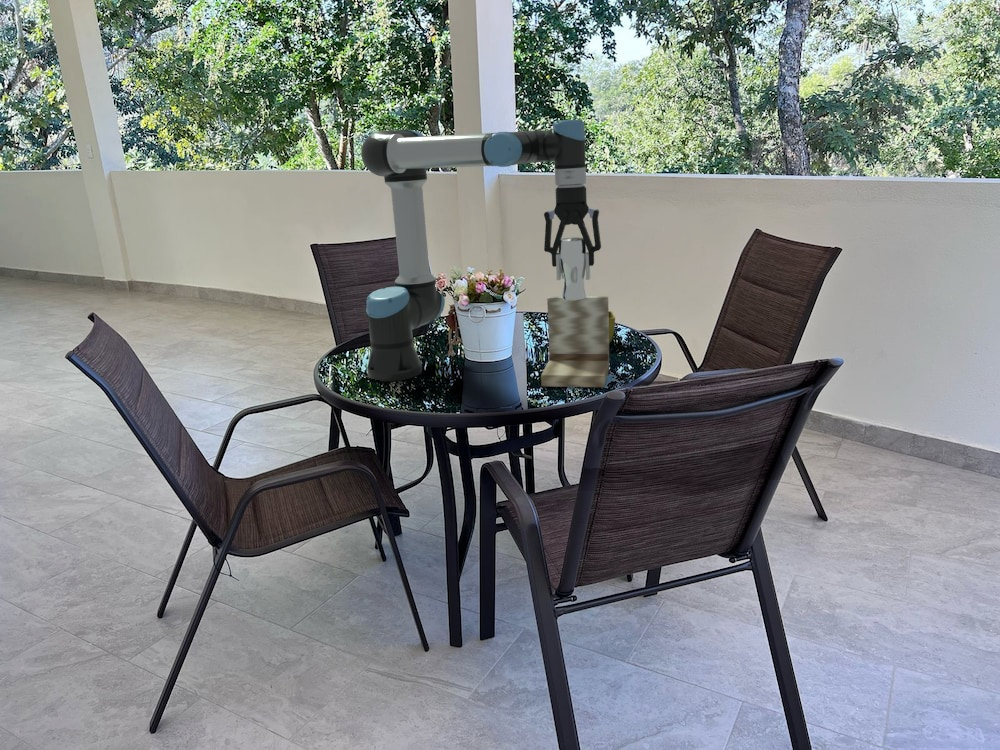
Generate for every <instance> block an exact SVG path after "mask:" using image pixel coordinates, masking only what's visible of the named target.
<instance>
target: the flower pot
mask: <svg viewBox="0 0 1000 750" xmlns="http://www.w3.org/2000/svg"><path fill="white" fill-rule="evenodd" d="M615 325H616V316H615V314H614V313H613V311H612V310H609V344H610V343H611V342H612V339H613V336H614V334H615V333H614V332H615Z"/></svg>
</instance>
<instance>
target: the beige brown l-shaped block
mask: <svg viewBox="0 0 1000 750" xmlns="http://www.w3.org/2000/svg"><path fill="white" fill-rule="evenodd" d="M546 301H547V304H546V305H547V324H548V325H547V326H548V327H547V328H548V351H549V353H548V362H547V364H546V365H545V367H544V369H543V371H542V373H541V375H540V381H541V383H540V384H541V387H557V388H558V387H561V388H562V387H563V388H564V387H567V388H568V387H569V388H572V387H573V388H605V387H604V386H606V383H607V379H608V376H609V371H610V343H609V311H610V310H609V295H608V296H607V295H605V296H604V295H603V296H602V295H601V296H597V295H596V296H595V295H594V296H591V295H590V296H586V298H585V299H582V300H574V301H569V300H563V299H562V296H547V298H546Z"/></svg>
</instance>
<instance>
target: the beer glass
mask: <svg viewBox="0 0 1000 750" xmlns="http://www.w3.org/2000/svg"><path fill="white" fill-rule="evenodd" d="M586 252H587V247H586V244H585V242H584V239H583V237H574V236H573V237H565V238H563V237H562V238H561V240H559V248H558V253H559V264H560V270H561V279H562V287H563V288H562V294H561V297H562V299H563V300H569V301H574V300H582V299H585V298H586V297H587V293H586V290H585V278H586V257H585V254H586Z"/></svg>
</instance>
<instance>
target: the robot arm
mask: <svg viewBox="0 0 1000 750" xmlns="http://www.w3.org/2000/svg"><path fill="white" fill-rule="evenodd" d="M585 132H586V131H585V123H584V121H583V120H581V119H578V118H577V119H564V120H555V121H554V122H553V123H552V129H547V130H544V129H543V130H541V129H540V130H520V131H498V132H489V133H486V132H485V133H467V134H448V135H447V134H446V135H444V134H443V135H430V136H429V135H428V136H425V135H423V133H421V132H419V131H418V130H417V131H416V130H414V129H405V128H403V129H393V130H379V131H375V132H373V133H371V134H369V135H368V136H367V137H366V138H365V140H364V141H363V143H362V145H361V151H360V153H361V159H362V162H363V165H364V166H365V168H366V169H367V170H368V171H369V172H371V174H373V175H376V176H379V177H384V183H385V184H386V186H388V187H389V188H390V192H391V202H392V211H393V221H394V231H395V232H394V233H395V234H394V235H395V241H396V243H395V244H396V252H397V264H398V274H399V275H398V276H397V277H396V278H395V280H394V285H395V286H389V287H385V288H379V289H377V290H374V291H372V292H370V294H369V295H368V296H367V298H366V308H365V310H366V311H365V312H366V314H367V315H366V316H367V323H368V333H369V341H370V352H369V353H370V354H369V358H368V362H367V367H366V369H367V377H368V379H370V378H372V379H375V380H374V381H376V380H380V381H379V382H397V381H404V380H409V379H412V378H415V377H417V376H419V375H421V374H422V372H423V368H422V366H423V365H422V362H421V360H420V357H419V355H418V353H417V350H416V348H415V346H414V339H413V337H414V336H413V330H416V329H418V328H420V327H422V326H425V325H429V324H431V323H432V322H434V321H435V320H436V319H438V318H440V317H441V315H442V313H443V311H444V308H445V303H446V301H445V294H444V293H443V294H440V293H439V292H438V291H436V287H435V284H437V280H436V276H434V275H433V274H432V273H431V271H430V262H429V250H428V242H427V241H428V239H427V228H426V216H425V214H426V213H425V204H424V193H423V191H424V190H423V187H424V185H425V183H426V182H427V181H428V176H427V175H428V174H427V170H428V169H437V168H439V169H441V168H466V167H468V168H469V167H470V168H471V167H500V168H505V167H511V166H515V165H522V164H523V165H524V164H530V163H546V162H547V163H548V162H549V163H550V162H554V177H555V178H554V181H555V182H554V184H555V186H557V187H556V188H555V207H554V209H552V210H549V211H548V210H547V211H545V212H544V214H543V217H544V219H545V231H544V232H545V234H544V247H543V248H544V249H543V250H544V252H546V253H548V254H551V264H552V267H553V268H555V267H556V281H560V280H561V279H562V274H561V270H560V264H559V240H561V239H563V235H564V231H565V228H566V227H567V226H569V225H574V226H576V225H577V227H578V229H579V231H580V234H581V236H582V238H583V239H584V242H585V244H586V250H587V251H586V254H585V257H586V270H585V280H587V281H590V279H591V267H592V266H593V267H594V264H595V253H596V252H597V251H600V250H601V248H602V243H601V234H600V233H601V232H600V226H599V215H600V210H599V209H598V208H597V209H594V208H593V209H592V208H590V207H589V206H588V203H587V202H588V201H587V186H585V184H586V183H587V167H586V166H587V165H586V139H587V138H586V133H585ZM587 214H589V218H590V219H591V222H592V223H591V224H592V232H593V239H594V240H593V241H594V244H593V242H592V240H591V238H590V235H589V232H588V230H587V227H586V222H585V221H584V219H585V217H586V216H587ZM555 215H556V217H557V218H558V219H559V221H560V222H559V225H558V229H557V232H556V236H555V239H554V241H553V245H551V244H552V243H551V242H552V231H553V230H552V227H553V219H555V218H554V217H555ZM443 295H444V296H443ZM372 379H371V380H372Z"/></svg>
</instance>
